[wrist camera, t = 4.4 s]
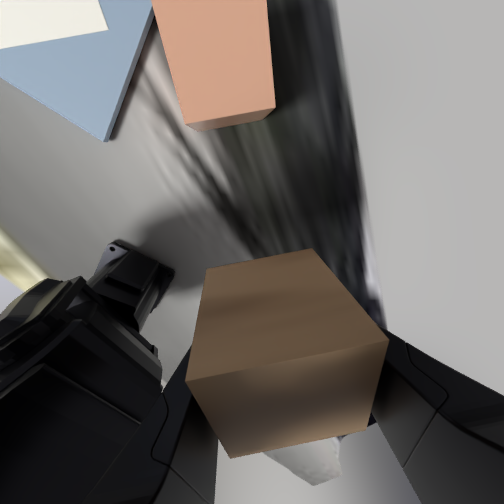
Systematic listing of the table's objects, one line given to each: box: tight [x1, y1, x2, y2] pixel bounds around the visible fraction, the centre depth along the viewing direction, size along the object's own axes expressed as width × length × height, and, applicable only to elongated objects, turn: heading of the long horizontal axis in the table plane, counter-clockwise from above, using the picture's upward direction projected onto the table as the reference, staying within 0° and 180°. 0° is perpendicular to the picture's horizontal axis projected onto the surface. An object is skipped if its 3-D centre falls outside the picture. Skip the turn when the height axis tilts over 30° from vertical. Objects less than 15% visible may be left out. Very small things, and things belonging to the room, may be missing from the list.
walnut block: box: [185, 248, 389, 458], centre depth 8 cm, size 5×5×5 cm
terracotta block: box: [151, 0, 276, 132], centre depth 12 cm, size 5×5×5 cm
